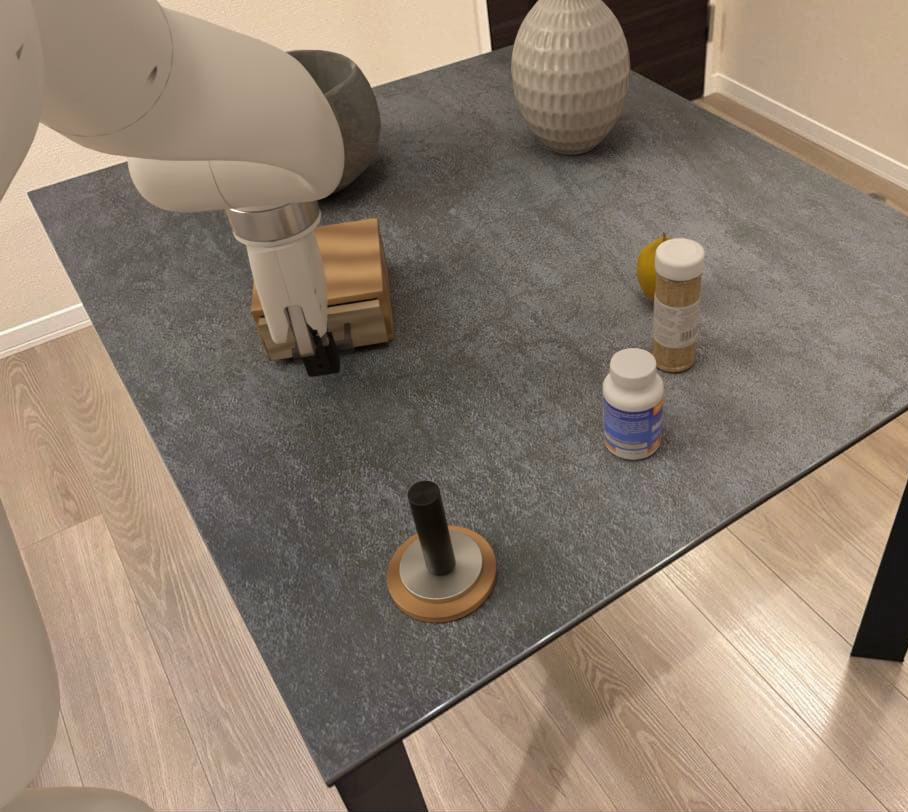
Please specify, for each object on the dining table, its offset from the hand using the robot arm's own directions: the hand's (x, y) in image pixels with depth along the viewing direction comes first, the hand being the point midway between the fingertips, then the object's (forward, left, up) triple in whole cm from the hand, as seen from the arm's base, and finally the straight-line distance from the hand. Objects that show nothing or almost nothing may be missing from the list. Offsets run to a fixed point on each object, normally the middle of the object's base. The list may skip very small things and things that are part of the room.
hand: (324, 369), depth 83 cm
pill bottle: (-14, -28, -3) cm, 31 cm away
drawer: (+10, 0, -2) cm, 11 cm away
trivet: (-25, -9, -3) cm, 26 cm away
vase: (+45, -35, -3) cm, 57 cm away
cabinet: (+14, 0, -3) cm, 15 cm away
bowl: (+45, +2, -3) cm, 46 cm away
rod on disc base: (-24, -9, -2) cm, 26 cm away
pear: (+6, -37, -3) cm, 38 cm away
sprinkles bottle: (-4, -35, -3) cm, 35 cm away
